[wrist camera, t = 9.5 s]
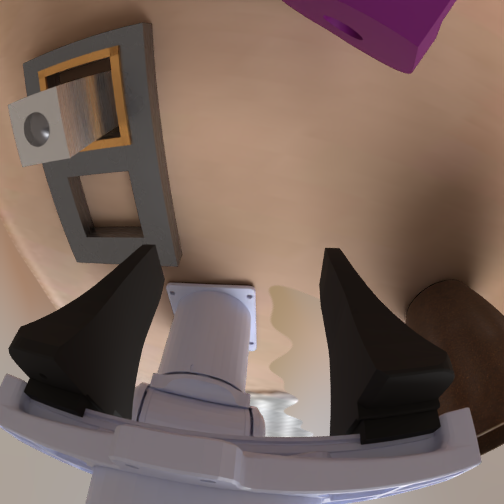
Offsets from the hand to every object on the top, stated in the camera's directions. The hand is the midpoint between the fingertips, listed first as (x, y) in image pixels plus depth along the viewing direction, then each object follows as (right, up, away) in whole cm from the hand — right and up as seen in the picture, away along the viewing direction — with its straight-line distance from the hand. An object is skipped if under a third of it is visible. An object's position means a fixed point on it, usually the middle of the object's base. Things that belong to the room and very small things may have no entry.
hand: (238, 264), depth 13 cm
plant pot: (+20, -5, +14) cm, 25 cm away
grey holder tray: (-10, +8, +7) cm, 15 cm away
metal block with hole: (-11, +11, +4) cm, 16 cm away
